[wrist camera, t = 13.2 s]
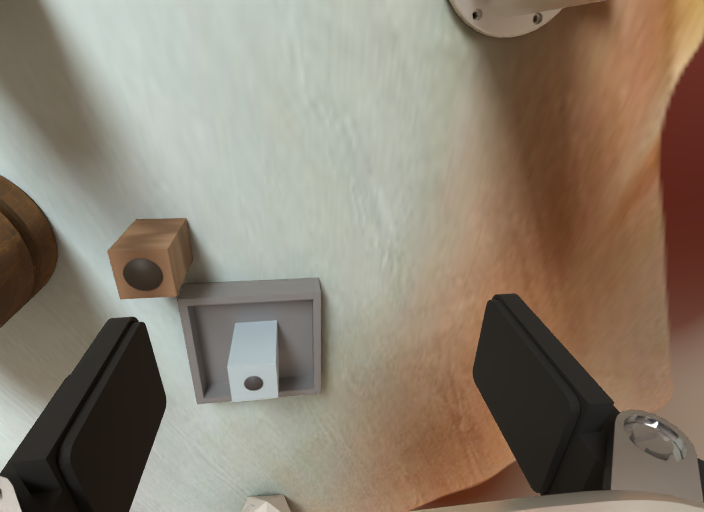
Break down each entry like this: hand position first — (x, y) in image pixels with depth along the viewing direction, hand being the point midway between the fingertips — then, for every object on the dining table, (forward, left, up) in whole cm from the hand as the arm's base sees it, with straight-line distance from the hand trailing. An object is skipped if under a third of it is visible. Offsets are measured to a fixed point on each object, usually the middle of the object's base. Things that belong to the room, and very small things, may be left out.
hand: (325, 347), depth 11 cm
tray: (+5, +21, -29) cm, 36 cm away
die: (+6, +52, -29) cm, 60 cm away
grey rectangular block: (+5, +21, -28) cm, 36 cm away
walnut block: (+13, +9, -29) cm, 33 cm away
